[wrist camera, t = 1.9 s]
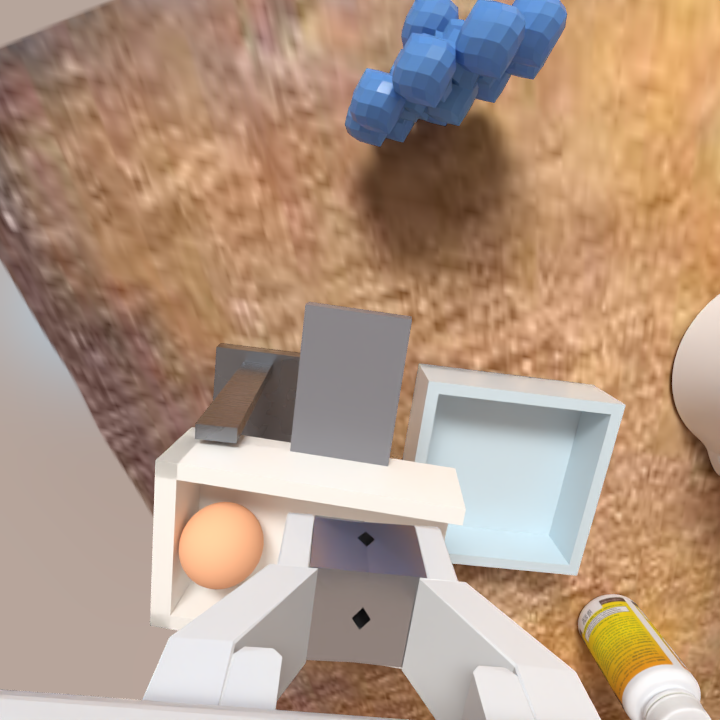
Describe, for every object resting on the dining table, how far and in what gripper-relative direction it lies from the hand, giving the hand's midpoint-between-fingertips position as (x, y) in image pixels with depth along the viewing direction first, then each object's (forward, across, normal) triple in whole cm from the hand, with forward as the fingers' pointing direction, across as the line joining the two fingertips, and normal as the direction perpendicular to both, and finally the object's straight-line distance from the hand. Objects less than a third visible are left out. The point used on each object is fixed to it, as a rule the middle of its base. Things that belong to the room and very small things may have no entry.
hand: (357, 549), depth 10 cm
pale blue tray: (+27, -13, +9) cm, 31 cm away
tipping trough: (+15, +1, +6) cm, 16 cm away
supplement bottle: (+27, -26, +23) cm, 44 cm away
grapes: (+27, -3, -16) cm, 31 cm away
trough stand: (+27, +6, +9) cm, 29 cm away
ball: (+13, +5, +10) cm, 17 cm away
